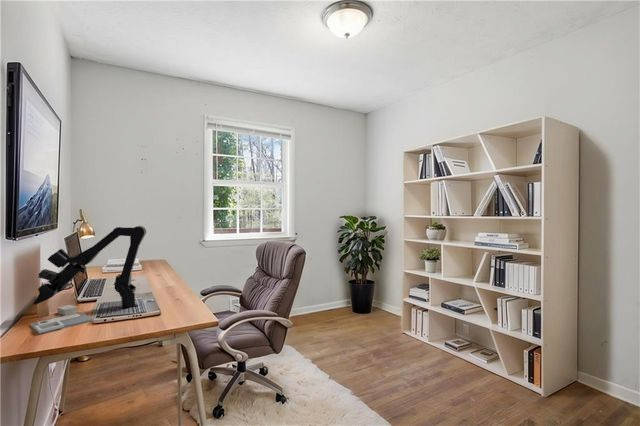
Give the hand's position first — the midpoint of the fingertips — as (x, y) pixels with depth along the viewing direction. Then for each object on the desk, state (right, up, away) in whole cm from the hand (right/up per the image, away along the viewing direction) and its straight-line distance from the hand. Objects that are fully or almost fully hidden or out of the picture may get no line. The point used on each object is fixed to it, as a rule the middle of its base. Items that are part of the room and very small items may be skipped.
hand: (39, 301), depth 150 cm
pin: (+1, -7, +1) cm, 7 cm away
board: (+18, -7, -10) cm, 21 cm away
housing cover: (+10, -6, +4) cm, 12 cm away
